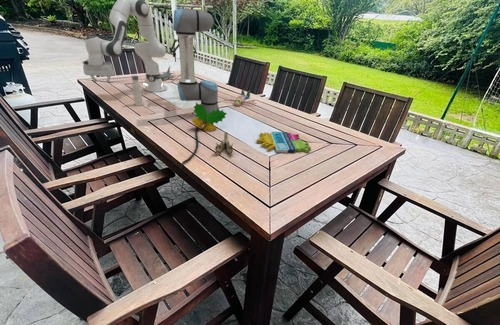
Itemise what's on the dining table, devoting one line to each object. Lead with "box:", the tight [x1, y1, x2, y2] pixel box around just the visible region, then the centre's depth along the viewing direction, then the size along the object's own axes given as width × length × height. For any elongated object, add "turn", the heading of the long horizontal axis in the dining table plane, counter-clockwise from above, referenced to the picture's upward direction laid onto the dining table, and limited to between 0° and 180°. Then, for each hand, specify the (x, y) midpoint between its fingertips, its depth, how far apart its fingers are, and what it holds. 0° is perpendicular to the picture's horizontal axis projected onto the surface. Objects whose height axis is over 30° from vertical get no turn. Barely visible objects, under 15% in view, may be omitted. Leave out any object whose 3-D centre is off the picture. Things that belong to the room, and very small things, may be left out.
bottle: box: [131, 79, 144, 107], centre depth 192 cm, size 6×6×20 cm
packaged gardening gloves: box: [256, 131, 312, 154], centre depth 152 cm, size 26×2×30 cm
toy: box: [223, 89, 257, 106], centre depth 219 cm, size 28×7×30 cm
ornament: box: [191, 101, 228, 132], centre depth 162 cm, size 21×8×15 cm, turn 105°
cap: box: [131, 74, 139, 81], centre depth 188 cm, size 4×4×2 cm
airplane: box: [160, 65, 176, 81], centre depth 271 cm, size 38×32×10 cm
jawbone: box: [214, 131, 234, 156], centre depth 136 cm, size 9×15×10 cm
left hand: (101, 81), depth 188 cm, fingers open, 8 cm apart
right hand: (184, 61), depth 211 cm, fingers open, 13 cm apart
